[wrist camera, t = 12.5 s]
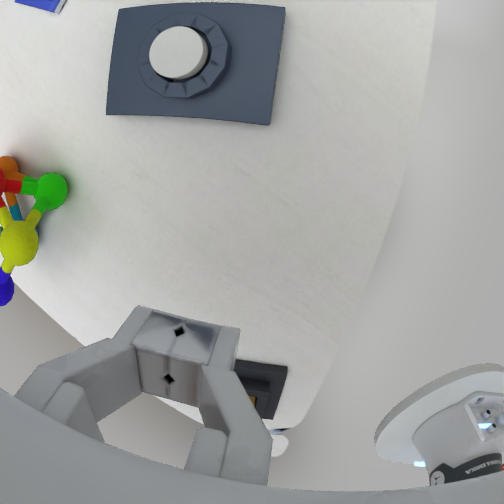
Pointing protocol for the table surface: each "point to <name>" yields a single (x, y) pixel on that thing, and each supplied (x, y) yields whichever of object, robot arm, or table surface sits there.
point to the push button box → (214, 70)
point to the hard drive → (44, 4)
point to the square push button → (262, 385)
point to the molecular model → (13, 227)
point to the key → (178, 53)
